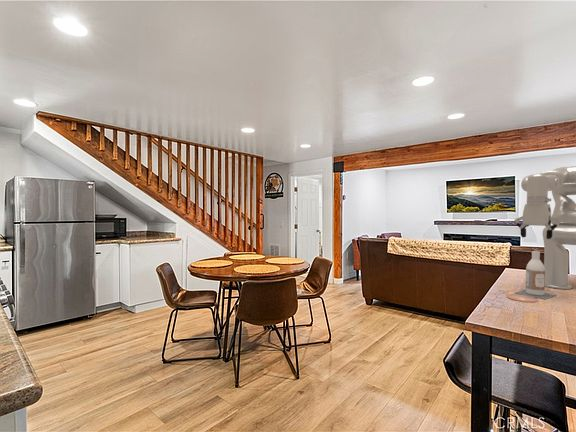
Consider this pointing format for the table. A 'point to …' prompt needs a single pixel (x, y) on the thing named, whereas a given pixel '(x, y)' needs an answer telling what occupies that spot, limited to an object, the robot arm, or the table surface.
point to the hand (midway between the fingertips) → (535, 238)
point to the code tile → (545, 296)
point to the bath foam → (535, 275)
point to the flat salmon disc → (522, 298)
